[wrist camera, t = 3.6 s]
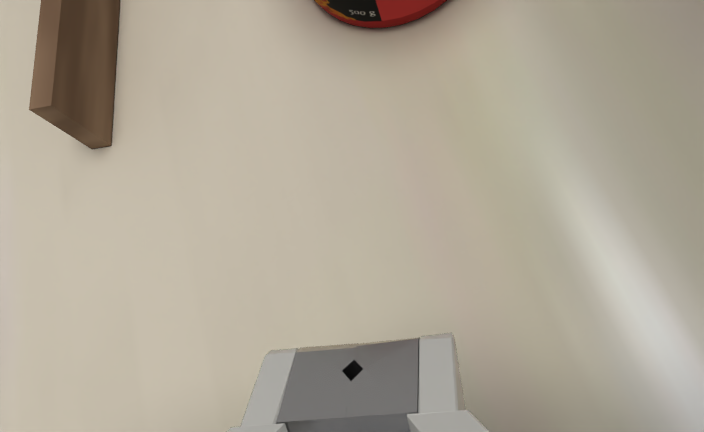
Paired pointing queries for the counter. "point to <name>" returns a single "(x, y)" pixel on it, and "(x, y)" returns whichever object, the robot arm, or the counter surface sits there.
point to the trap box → (77, 68)
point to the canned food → (378, 11)
